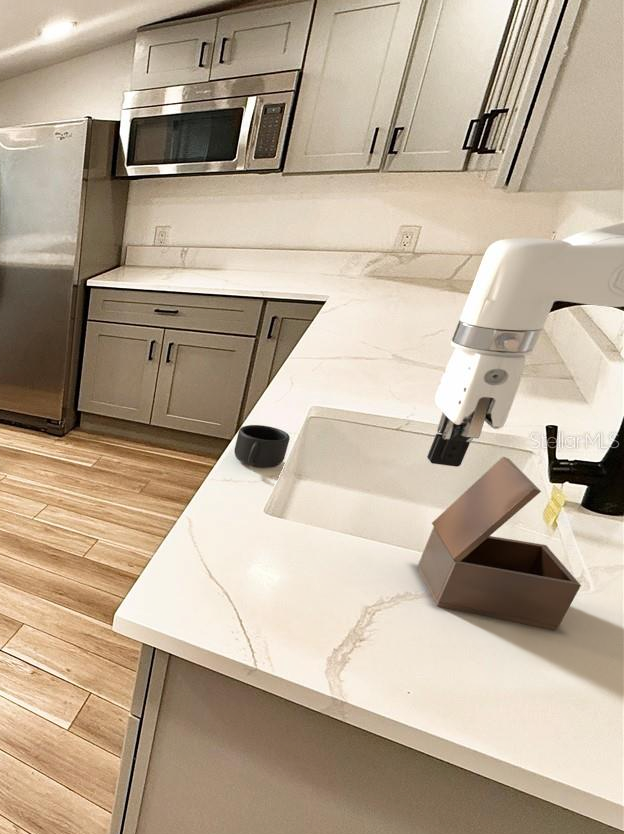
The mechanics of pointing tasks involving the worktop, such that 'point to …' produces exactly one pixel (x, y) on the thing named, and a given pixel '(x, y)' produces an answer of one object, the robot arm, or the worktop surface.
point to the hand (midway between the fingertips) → (442, 462)
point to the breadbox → (500, 581)
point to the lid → (484, 508)
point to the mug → (261, 446)
